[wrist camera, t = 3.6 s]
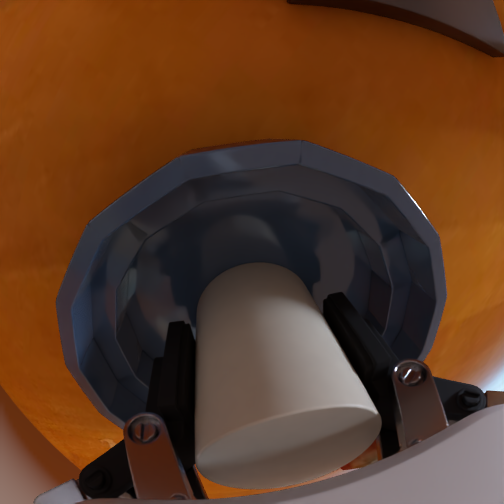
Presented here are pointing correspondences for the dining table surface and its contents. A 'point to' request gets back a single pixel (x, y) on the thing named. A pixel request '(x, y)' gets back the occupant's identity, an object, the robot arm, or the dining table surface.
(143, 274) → the bowl
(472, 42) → the board
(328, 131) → the dining table surface
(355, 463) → the decorative stone
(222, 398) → the candle
